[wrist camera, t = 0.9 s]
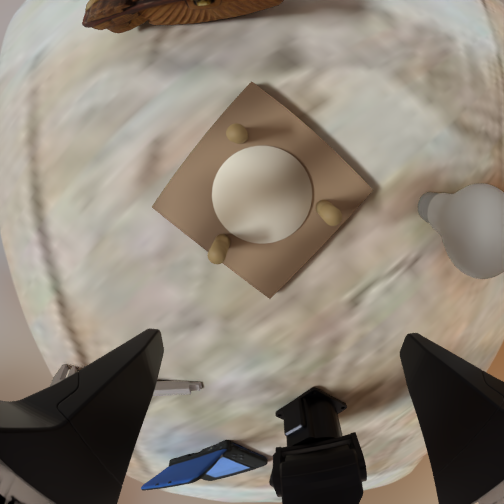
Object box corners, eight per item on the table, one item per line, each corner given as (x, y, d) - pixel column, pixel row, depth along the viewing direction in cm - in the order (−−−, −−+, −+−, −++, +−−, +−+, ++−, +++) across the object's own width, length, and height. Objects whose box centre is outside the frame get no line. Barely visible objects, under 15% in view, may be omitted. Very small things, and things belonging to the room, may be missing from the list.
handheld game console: (209, 475, 39) (203, 514, 30) (150, 448, 36) (137, 489, 27) (271, 457, 35) (271, 505, 26) (205, 425, 32) (195, 482, 23)
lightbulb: (424, 250, 22) (499, 311, 11) (383, 211, 21) (465, 262, 10) (458, 199, 20) (543, 235, 10) (420, 155, 19) (515, 170, 9)
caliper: (67, 367, 30) (47, 396, 24) (64, 362, 29) (43, 391, 23) (203, 385, 28) (193, 429, 23) (201, 379, 28) (190, 423, 22)
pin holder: (368, 188, 20) (389, 196, 16) (269, 293, 24) (270, 319, 20) (252, 84, 18) (250, 69, 14) (156, 204, 21) (135, 216, 17)
